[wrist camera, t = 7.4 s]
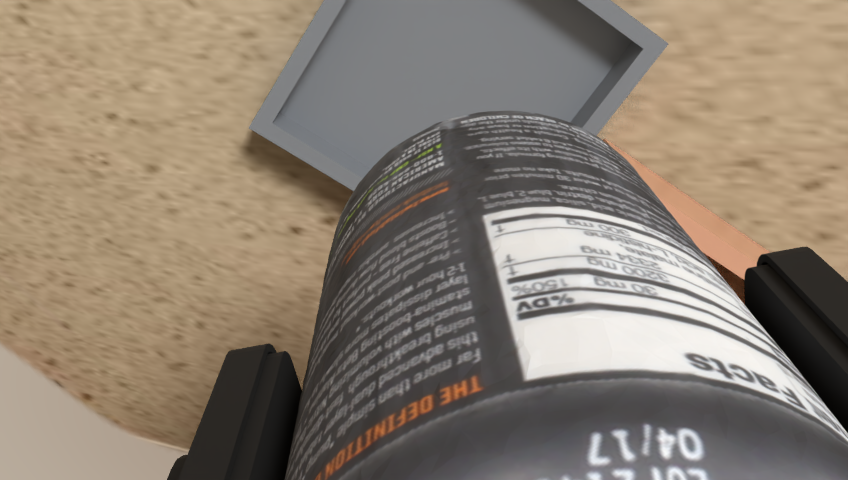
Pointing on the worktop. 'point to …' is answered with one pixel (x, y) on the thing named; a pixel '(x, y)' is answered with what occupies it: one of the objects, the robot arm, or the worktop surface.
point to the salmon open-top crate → (702, 223)
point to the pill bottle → (539, 328)
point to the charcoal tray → (446, 72)
